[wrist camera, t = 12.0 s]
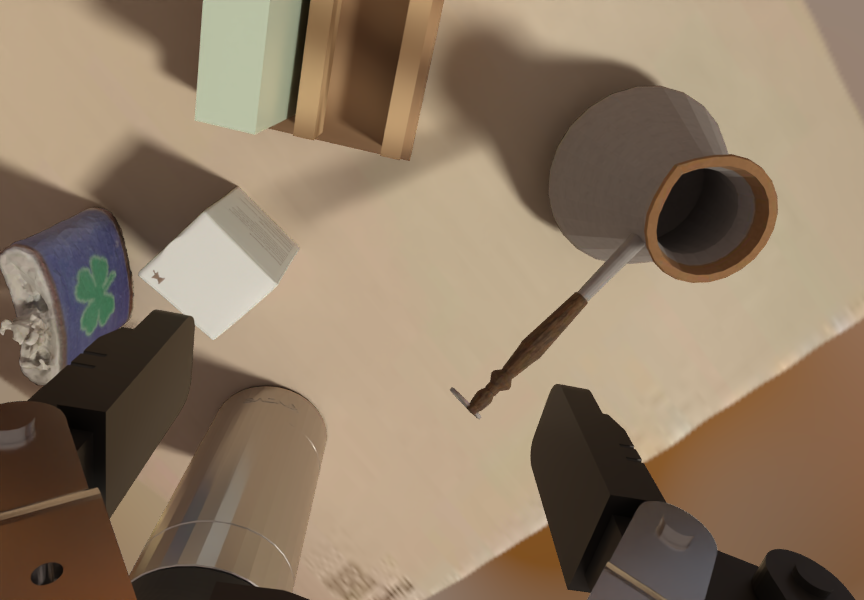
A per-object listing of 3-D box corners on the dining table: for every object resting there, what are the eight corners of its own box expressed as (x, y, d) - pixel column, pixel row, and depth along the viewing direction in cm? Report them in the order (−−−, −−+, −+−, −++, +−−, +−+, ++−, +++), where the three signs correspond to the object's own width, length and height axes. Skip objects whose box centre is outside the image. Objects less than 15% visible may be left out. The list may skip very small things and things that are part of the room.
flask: (80, 204, 38) (-33, 255, 29) (124, 208, 39) (27, 260, 29) (99, 323, 42) (4, 405, 32) (139, 326, 42) (57, 408, 33)
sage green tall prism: (317, -46, 32) (279, -86, 23) (295, 114, 36) (255, 134, 26) (268, -59, 32) (210, -105, 23) (251, 103, 35) (194, 120, 26)
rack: (409, 158, 38) (409, 170, 34) (215, 113, 36) (189, 120, 32) (456, -61, 33) (462, -77, 29) (232, -124, 31) (205, -151, 27)
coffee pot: (653, 44, 36) (804, 37, 22) (732, 184, 39) (904, 253, 26) (396, 245, 40) (387, 343, 27) (489, 352, 44) (523, 486, 30)
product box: (243, 297, 42) (211, 344, 35) (180, 237, 40) (132, 274, 33) (302, 247, 40) (280, 285, 34) (239, 182, 38) (202, 209, 32)
